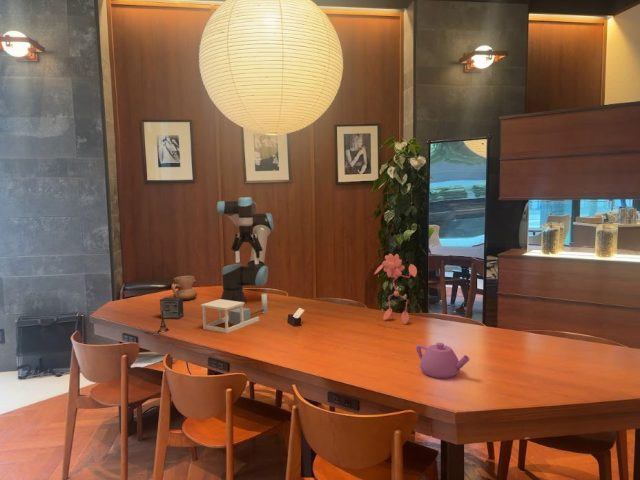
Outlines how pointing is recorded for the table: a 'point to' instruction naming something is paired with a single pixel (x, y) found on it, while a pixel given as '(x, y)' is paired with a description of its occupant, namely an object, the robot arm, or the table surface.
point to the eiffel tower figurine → (161, 326)
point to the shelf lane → (225, 306)
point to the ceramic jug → (184, 288)
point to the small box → (171, 308)
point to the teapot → (440, 361)
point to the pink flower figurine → (395, 269)
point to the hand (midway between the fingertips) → (247, 263)
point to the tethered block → (246, 312)
